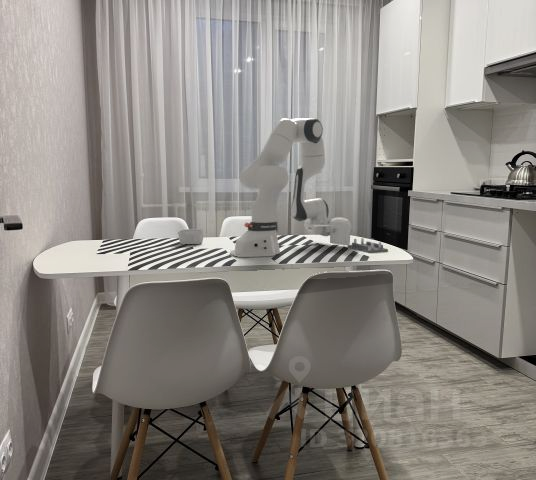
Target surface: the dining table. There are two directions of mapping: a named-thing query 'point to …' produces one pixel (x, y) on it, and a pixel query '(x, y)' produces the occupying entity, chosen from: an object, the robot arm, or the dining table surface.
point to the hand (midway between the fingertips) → (339, 230)
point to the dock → (367, 246)
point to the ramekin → (191, 236)
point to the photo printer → (340, 231)
